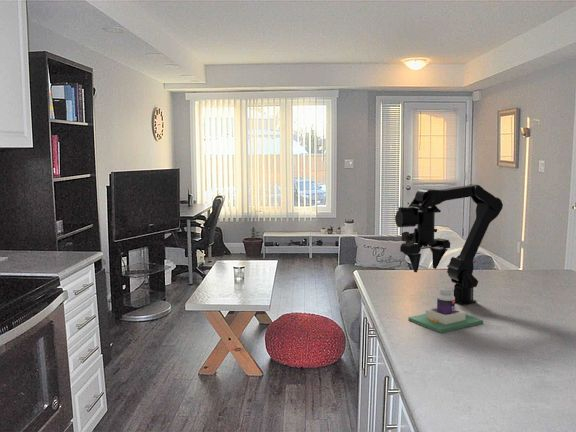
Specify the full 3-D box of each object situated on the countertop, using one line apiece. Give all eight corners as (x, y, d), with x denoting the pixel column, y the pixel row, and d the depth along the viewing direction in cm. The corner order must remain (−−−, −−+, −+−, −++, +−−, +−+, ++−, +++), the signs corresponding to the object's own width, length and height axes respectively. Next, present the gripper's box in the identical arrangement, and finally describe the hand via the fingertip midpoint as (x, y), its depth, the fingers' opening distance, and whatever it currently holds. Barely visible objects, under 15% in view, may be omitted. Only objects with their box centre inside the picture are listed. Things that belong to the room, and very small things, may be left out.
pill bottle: (455, 321, 168) (456, 291, 167) (437, 320, 169) (438, 290, 168) (453, 316, 174) (454, 286, 172) (436, 315, 175) (436, 285, 173)
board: (449, 311, 182) (449, 301, 181) (482, 323, 170) (483, 312, 169) (408, 320, 173) (408, 309, 173) (440, 333, 161) (440, 321, 161)
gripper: (427, 220, 198) (427, 263, 200) (389, 225, 188) (388, 269, 190) (451, 224, 188) (450, 268, 190) (412, 229, 178) (411, 275, 180)
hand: (425, 270), depth 188 cm, fingers open, 9 cm apart
